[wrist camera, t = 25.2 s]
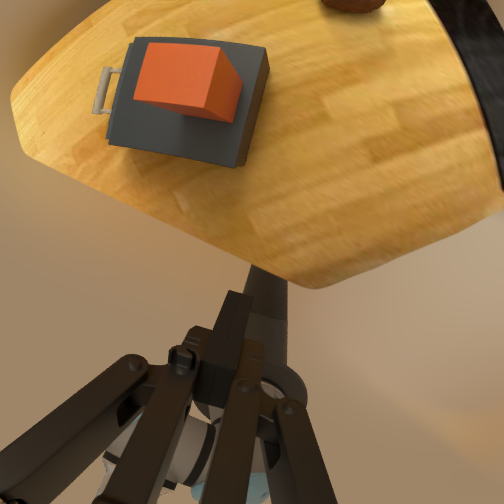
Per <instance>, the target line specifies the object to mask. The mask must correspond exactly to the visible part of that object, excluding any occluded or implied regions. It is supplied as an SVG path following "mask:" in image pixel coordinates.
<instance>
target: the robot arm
mask: <svg viewBox="0 0 504 504" xmlns="http://www.w3.org/2000/svg"><path fill="white" fill-rule="evenodd" d="M252 300H253V296H249V295H246V294H242V293H238V292H235V291H231V290H229V291H228V293H227V296H226V298H225V300H224V303H223V305H222V308H221V311H220V313H219V315H218V318H217V320H216V323H215V325H214V328H213V330H210V329H206V328H203V327H200V326H194V327H193V328H191V329H190V330H189V331H188V333H187V335H186V337H185V339H184V341H183V343H182V345H176V346H174V347H172V348H171V349H170V350H169V356H168V364H166V365H150V364H148V362H147V360H146V359H145V358H144V357H142V356H140V355H137V354H128V355H125V356H123V357H121V358H120V359H119V360H118V361H116V362H115V363H114V364H112V365H111V366H110V367H109V368H107V369H106V370H105V371H103V372H102V373H101V374H100V375H98V376H97V377H96V378H95V379H93V380H92V381H91V382H89V383H88V384H87V385H86V386H84V387H83V388H82V389H80V390H79V391H78V392H77V393H75V394H74V395H73V396H71V397H70V398H69V399H68V400H66V401H65V402H64V403H62V404H61V405H60V406H59V407H57V408H56V409H55V410H53V411H52V412H51V413H50V414H48V415H47V416H46V417H44V418H43V419H42V420H41V421H39V422H38V423H37V424H35V425H34V426H33V427H32V428H30V429H29V430H28V431H26V432H25V433H24V434H22V435H21V436H20V437H19V438H17V439H16V440H15V441H13V442H12V443H11V444H10V445H8V446H7V447H6V448H4V449H3V450H2V451H1V452H0V504H50V503H51V502H52V501H53V500H54V499H55V498H56V497H57V496H58V495H59V494H60V493H61V492H63V491H64V490H65V489H66V488H67V487H68V486H69V485H70V484H71V483H72V482H73V481H74V480H75V479H76V478H77V477H78V476H79V475H80V474H81V473H82V472H83V471H84V470H85V469H86V468H87V467H88V466H89V465H90V464H91V463H92V462H93V461H94V460H95V459H96V458H97V457H98V456H100V455H101V453H103V452H104V451H105V450H106V451H105V453H104V455H103V457H102V460H103V463H104V465H105V467H106V472H107V473H106V475H105V477H104V479H103V482H102V484H101V486H100V488H99V490H98V492H97V495H96V497H95V499H94V500H93V502H92V504H157V503H158V501H159V499H160V497H161V496H163V495H167V494H169V493H172V492H174V490H175V487H176V485H177V483H180V484H183V485H186V486H189V487H191V494H192V497H193V498H194V499H195V500H196V501H199V504H260V503H262V502H264V501H265V500H266V499H267V498H268V497H269V495H270V498H271V502H272V504H338V503H337V500H336V497H335V494H334V491H333V488H332V485H331V482H330V479H329V476H328V473H327V470H326V467H325V464H324V461H323V458H322V455H321V452H320V449H319V446H318V443H317V440H316V438H315V434H314V431H313V429H312V425H311V422H310V419H309V416H308V413H307V410H306V408H305V406H304V404H303V403H302V402H301V401H299V400H298V399H295V398H292V397H287V396H286V394H285V392H284V391H283V389H282V388H281V387H280V386H279V385H277V384H276V383H274V382H273V381H271V380H269V379H267V378H264V377H262V370H263V362H264V354H265V349H264V346H263V344H262V343H261V342H257V341H253V340H249V339H245V338H244V335H245V330H246V326H247V322H248V318H249V313H250V309H251V304H252ZM192 400H193V401H196V402H200V403H203V404H207V405H209V413H210V420H211V424H209V423H206V422H204V421H201V420H199V419H197V418H194V417H192V416H190V415H188V414H189V412H190V408H191V403H192Z"/></svg>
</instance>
